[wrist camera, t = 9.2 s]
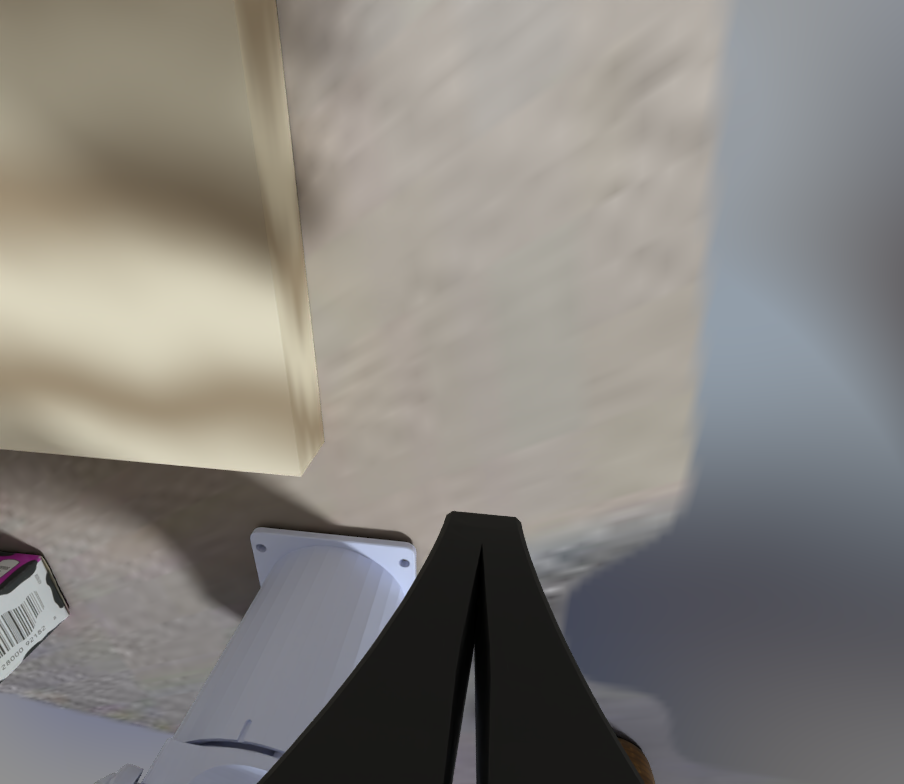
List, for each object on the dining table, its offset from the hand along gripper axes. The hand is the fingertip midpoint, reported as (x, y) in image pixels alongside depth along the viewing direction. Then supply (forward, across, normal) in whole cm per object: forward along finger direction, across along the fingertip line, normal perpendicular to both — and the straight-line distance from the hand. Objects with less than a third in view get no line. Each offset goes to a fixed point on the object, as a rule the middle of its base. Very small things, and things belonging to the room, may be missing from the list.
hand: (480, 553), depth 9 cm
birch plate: (+9, +14, -5) cm, 17 cm away
